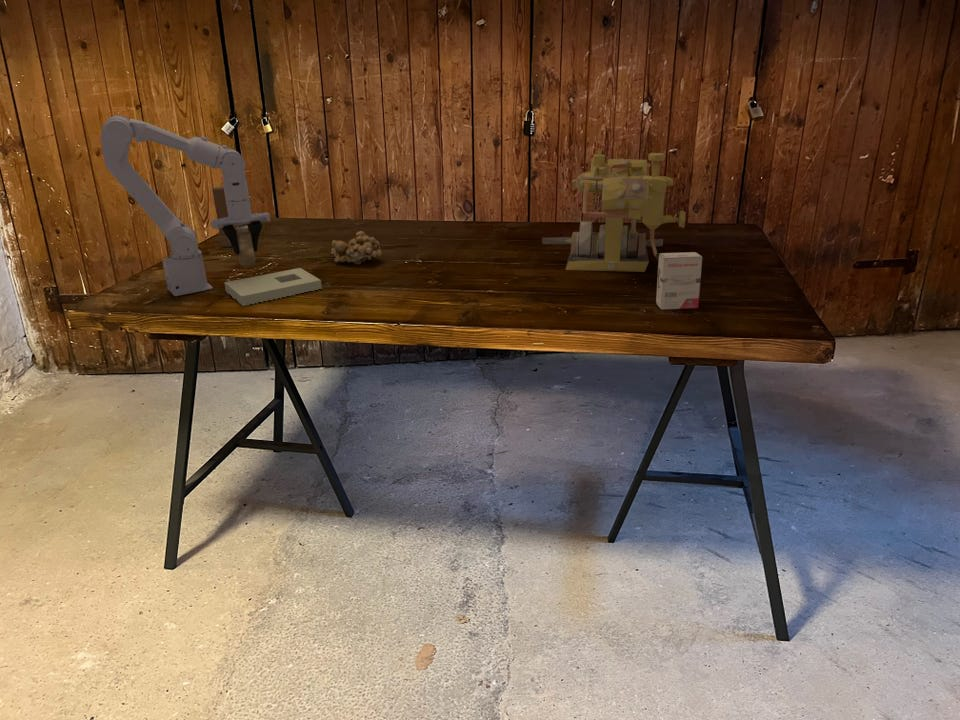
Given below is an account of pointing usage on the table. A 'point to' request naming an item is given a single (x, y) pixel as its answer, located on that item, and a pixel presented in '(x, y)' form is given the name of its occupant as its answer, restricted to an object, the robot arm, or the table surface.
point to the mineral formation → (356, 249)
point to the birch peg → (245, 248)
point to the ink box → (678, 280)
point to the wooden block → (222, 213)
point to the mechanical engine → (619, 215)
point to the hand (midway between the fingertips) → (245, 252)
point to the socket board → (272, 286)
